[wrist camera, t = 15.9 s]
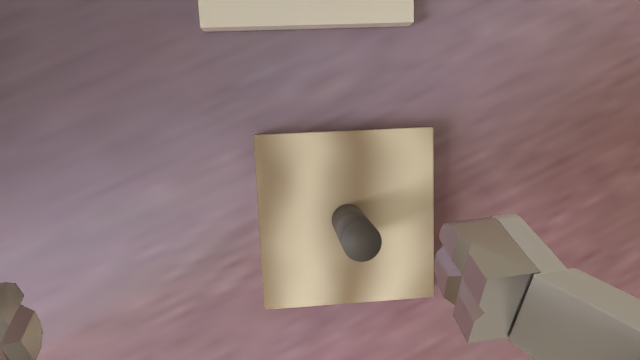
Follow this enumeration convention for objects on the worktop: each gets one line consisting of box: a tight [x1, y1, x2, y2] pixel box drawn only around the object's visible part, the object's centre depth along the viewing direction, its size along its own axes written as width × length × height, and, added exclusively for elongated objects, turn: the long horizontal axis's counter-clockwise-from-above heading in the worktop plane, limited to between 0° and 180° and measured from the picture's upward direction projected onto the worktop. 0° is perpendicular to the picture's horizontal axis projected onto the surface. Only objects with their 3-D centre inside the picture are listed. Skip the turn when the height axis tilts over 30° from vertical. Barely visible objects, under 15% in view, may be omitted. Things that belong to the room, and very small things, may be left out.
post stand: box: [253, 127, 434, 310], centre depth 27 cm, size 12×12×8 cm
